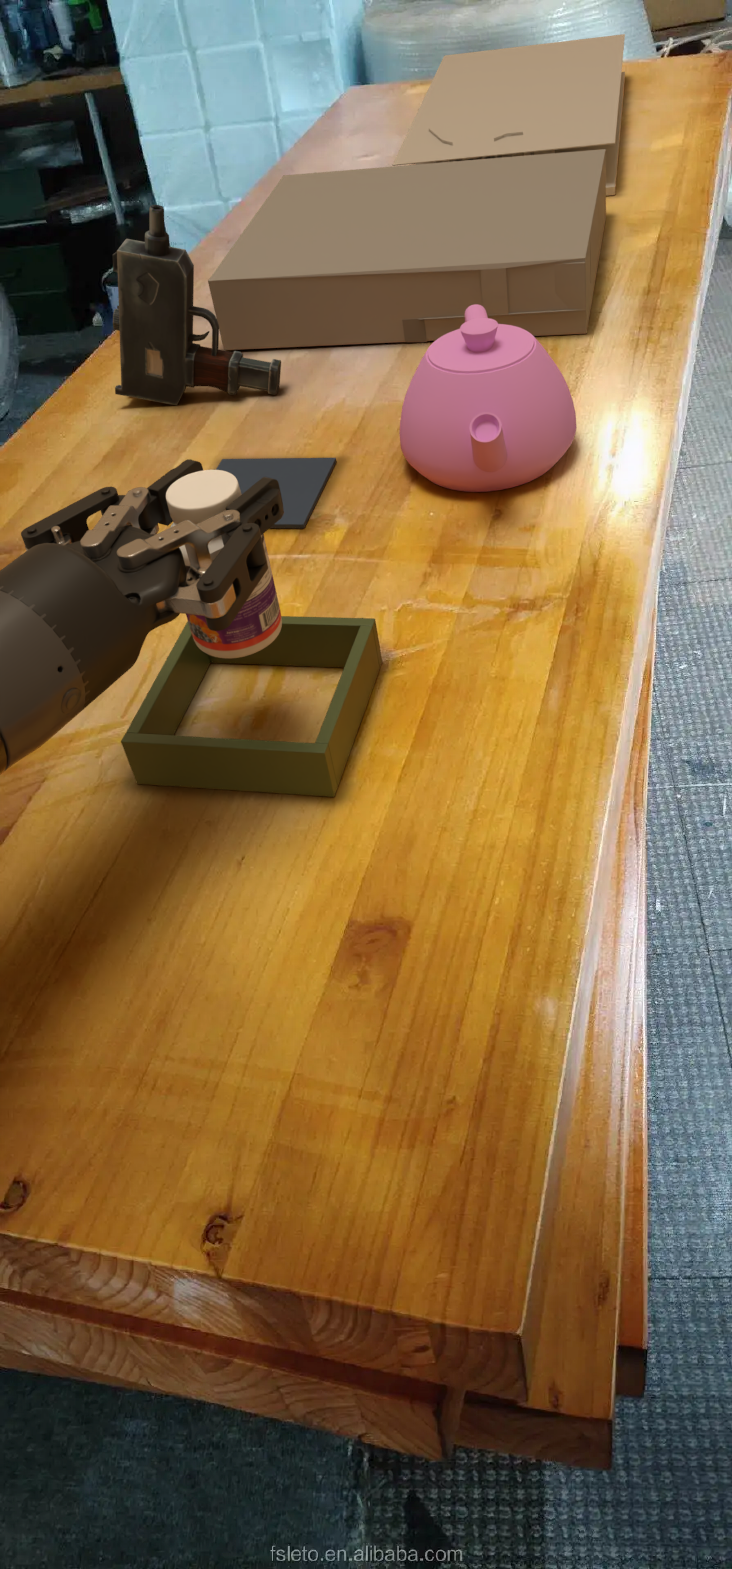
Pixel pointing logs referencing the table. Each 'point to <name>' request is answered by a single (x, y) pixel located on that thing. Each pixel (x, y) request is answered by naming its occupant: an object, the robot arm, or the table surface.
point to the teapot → (486, 408)
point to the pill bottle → (198, 503)
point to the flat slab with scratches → (522, 104)
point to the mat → (286, 482)
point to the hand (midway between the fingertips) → (235, 484)
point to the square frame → (258, 761)
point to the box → (416, 252)
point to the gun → (172, 327)
